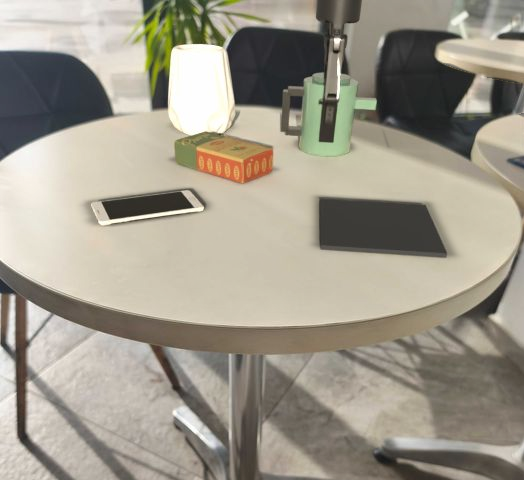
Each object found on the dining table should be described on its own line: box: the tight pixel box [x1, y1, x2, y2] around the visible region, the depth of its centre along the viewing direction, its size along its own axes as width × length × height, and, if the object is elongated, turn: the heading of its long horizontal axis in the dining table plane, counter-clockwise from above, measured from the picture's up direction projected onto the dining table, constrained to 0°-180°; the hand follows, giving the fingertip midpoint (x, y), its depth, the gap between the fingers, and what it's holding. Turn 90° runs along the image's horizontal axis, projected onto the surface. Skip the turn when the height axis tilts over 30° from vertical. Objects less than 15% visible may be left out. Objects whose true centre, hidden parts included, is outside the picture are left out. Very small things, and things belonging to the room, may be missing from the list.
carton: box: [173, 131, 274, 184], centre depth 86 cm, size 8×16×4 cm, turn 51°
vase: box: [167, 43, 236, 136], centre depth 102 cm, size 14×14×15 cm
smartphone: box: [90, 189, 205, 226], centre depth 72 cm, size 8×1×15 cm
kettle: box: [280, 72, 378, 157], centre depth 93 cm, size 17×10×15 cm, turn 85°
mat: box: [319, 198, 448, 259], centre depth 69 cm, size 16×16×1 cm
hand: (325, 134), depth 96 cm, fingers closed on kettle, 10 cm apart
